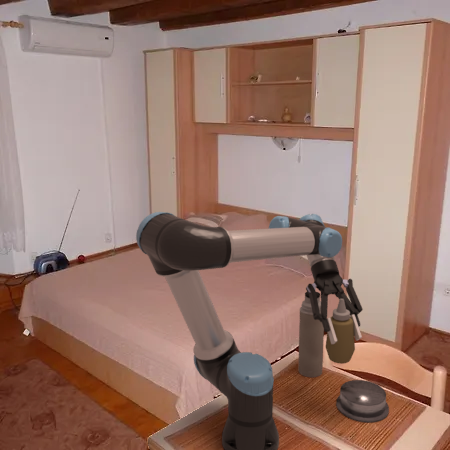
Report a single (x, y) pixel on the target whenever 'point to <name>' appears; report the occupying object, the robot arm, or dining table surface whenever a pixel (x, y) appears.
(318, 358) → the thermos bottle
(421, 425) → the dining table surface
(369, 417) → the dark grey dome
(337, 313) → the squeeze bottle
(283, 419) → the dining table surface
